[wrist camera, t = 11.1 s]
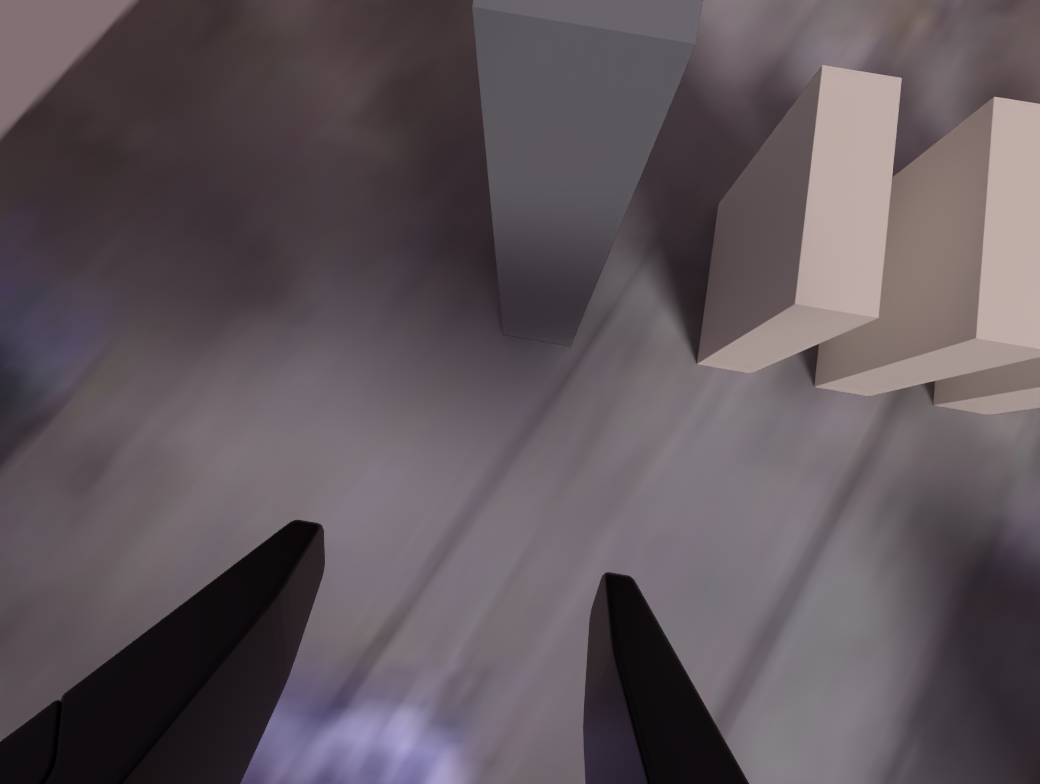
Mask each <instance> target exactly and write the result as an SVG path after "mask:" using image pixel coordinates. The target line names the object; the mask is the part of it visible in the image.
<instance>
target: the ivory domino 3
mask: <svg viewBox="0 0 1040 784" xmlns="http://www.w3.org/2000/svg"><path fill="white" fill-rule="evenodd" d="M933 405H935V406H941V407H947V408H953V409H959V410H964V411H970V412H976V413H982V414H996V413H1003V412H1011V411H1019V410H1026V409H1034V408H1040V357H1038V358H1034V359H1029V360H1025V361H1020V362H1016V363H1012V364H1007V365H1003V366H998V367H994V368H990V369H985V370H981V371H976V372H972V373H968V374H963V375H959V376H954V377H950V378H946V379H941V380H937V381H935V390H934V402H933Z"/></svg>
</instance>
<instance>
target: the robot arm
mask: <svg viewBox="0 0 1040 784" xmlns="http://www.w3.org/2000/svg"><path fill="white" fill-rule="evenodd" d="M324 566H325V551H324V530H323V527H322V525H321V524H319V523H314V522H308V521H302V520H294V521H292V522H290V523H288V524H287V525H286V526H284V527H283V528H282V529H281V530H279V531H278V532H277V533H275V534H274V535H273V536H271V537H270V538H269V539H267V540H266V541H265V542H263V543H262V544H261V545H259V546H258V547H257V548H256V549H254V550H253V551H252V552H250V553H249V554H248V555H246V556H245V557H244V558H242V559H241V560H240V561H238V562H237V563H236V564H234V565H233V566H232V567H231V568H229V569H228V570H227V571H225V572H224V573H223V574H221V575H220V576H219V577H217V578H216V579H215V580H213V581H212V582H211V583H210V584H208V585H207V586H206V587H204V588H203V589H202V590H200V591H199V592H198V593H196V594H195V595H194V596H192V597H191V598H190V599H188V600H187V601H186V602H185V603H183V604H182V605H181V606H179V607H178V608H177V609H175V610H174V611H173V612H171V613H170V614H169V615H167V616H166V617H165V618H164V619H162V620H161V621H160V622H158V623H157V624H156V625H154V626H153V627H152V628H150V629H149V630H148V631H146V632H145V633H144V634H142V635H141V636H140V637H139V638H137V639H136V640H135V641H133V642H132V643H131V644H129V645H128V646H127V647H125V648H124V649H123V650H121V651H120V652H119V653H118V654H116V655H115V656H114V657H112V658H111V659H110V660H108V661H107V662H106V663H104V664H103V665H102V666H100V667H99V668H98V669H96V670H95V671H94V672H93V673H91V674H90V675H89V676H87V677H86V678H85V679H83V680H82V681H81V682H79V683H78V684H77V685H75V686H74V687H73V688H72V689H70V690H69V691H68V692H66V693H65V694H64V695H63V696H62V698H61V701H59V700H56V701H54V702H53V703H51V704H50V705H49V706H47V707H46V708H45V709H44V710H42V711H41V712H40V713H38V714H37V715H36V716H34V717H33V718H32V719H30V720H29V721H28V722H26V723H25V724H24V725H22V726H21V727H20V728H18V729H17V730H16V731H14V732H13V733H11V734H10V735H9V736H7V737H6V738H5V739H3V740H2V741H1V742H0V784H240V783H241V781H242V778H243V776H244V774H245V772H246V770H247V768H248V765H249V763H250V761H251V759H252V757H253V755H254V752H255V750H256V748H257V746H258V744H259V742H260V739H261V737H262V735H263V733H264V731H265V729H266V726H267V724H268V722H269V720H270V718H271V716H272V713H273V711H274V709H275V707H276V705H277V703H278V700H279V698H280V696H281V694H282V691H283V689H284V687H285V684H286V682H287V680H288V677H289V675H290V672H291V669H292V666H293V663H294V660H295V657H296V655H297V652H298V649H299V646H300V643H301V640H302V637H303V634H304V631H305V628H306V625H307V622H308V619H309V616H310V613H311V610H312V607H313V604H314V601H315V598H316V595H317V592H318V589H319V586H320V583H321V580H322V576H323V572H324ZM583 736H584V761H585V781H586V784H749V783H748V781H747V779H746V777H745V776H744V774H743V772H742V770H741V768H740V767H739V765H738V763H737V761H736V760H735V758H734V756H733V754H732V753H731V751H730V749H729V747H728V745H727V744H726V742H725V740H724V738H723V737H722V735H721V733H720V731H719V729H718V728H717V726H716V724H715V722H714V721H713V719H712V717H711V715H710V714H709V712H708V710H707V708H706V706H705V705H704V703H703V701H702V699H701V698H700V696H699V694H698V692H697V690H696V689H695V687H694V685H693V683H692V682H691V680H690V678H689V676H688V674H687V673H686V671H685V669H684V667H683V666H682V664H681V662H680V660H679V659H678V657H677V655H676V653H675V651H674V650H673V648H672V646H671V644H670V643H669V641H668V639H667V637H666V635H665V634H664V632H663V630H662V628H661V627H660V625H659V623H658V621H657V619H656V618H655V616H654V614H653V612H652V611H651V609H650V607H649V605H648V604H647V602H646V600H645V598H644V596H643V595H642V593H641V591H640V589H639V588H638V586H637V584H636V582H635V581H634V579H633V578H632V577H630V576H627V575H622V574H616V573H610V572H607V573H605V574H604V575H603V576H602V578H601V581H600V584H599V587H598V590H597V593H596V596H595V599H594V603H593V606H592V609H591V615H590V622H589V637H588V653H587V669H586V684H585V700H584V722H583Z"/></svg>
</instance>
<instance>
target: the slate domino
mask: <svg viewBox="0 0 1040 784" xmlns="http://www.w3.org/2000/svg"><path fill="white" fill-rule="evenodd" d="M702 1H703V0H473V5H472V11H473V22H474V32H475V43H476V53H477V64H478V74H479V85H480V96H481V106H482V117H483V127H484V138H485V149H486V159H487V170H488V180H489V191H490V202H491V212H492V223H493V233H494V244H495V255H496V265H497V276H498V286H499V297H500V308H501V318H502V329H503V335H508V336H514V337H520V338H525V339H531V340H537V341H542V342H548V343H554V344H559V345H565V346H571V343H572V341H573V339H574V336H575V334H576V331H577V329H578V326H579V324H580V322H581V319H582V317H583V314H584V312H585V310H586V307H587V305H588V302H589V300H590V298H591V295H592V293H593V290H594V288H595V286H596V283H597V281H598V278H599V276H600V274H601V271H602V269H603V266H604V264H605V262H606V259H607V257H608V254H609V252H610V249H611V247H612V245H613V242H614V240H615V237H616V235H617V233H618V230H619V228H620V225H621V223H622V221H623V218H624V216H625V213H626V211H627V209H628V206H629V204H630V201H631V199H632V197H633V194H634V192H635V189H636V187H637V185H638V182H639V180H640V177H641V175H642V172H643V170H644V168H645V165H646V163H647V160H648V158H649V156H650V153H651V151H652V148H653V146H654V144H655V141H656V139H657V136H658V134H659V132H660V129H661V127H662V124H663V122H664V120H665V117H666V115H667V112H668V110H669V107H670V105H671V103H672V100H673V98H674V95H675V93H676V91H677V88H678V86H679V83H680V81H681V79H682V76H683V74H684V71H685V69H686V67H687V64H688V62H689V59H690V57H691V55H692V52H693V50H694V47H695V45H696V40H697V33H698V27H699V20H700V14H701V7H702Z"/></svg>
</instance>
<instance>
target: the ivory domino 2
mask: <svg viewBox="0 0 1040 784" xmlns="http://www.w3.org/2000/svg"><path fill="white" fill-rule="evenodd" d="M1038 357H1040V104H1037V103H1031V102H1025V101H1019V100H1012V99H1006V98H1000V97H993V98H992V99H990V100H989V101H988V102H987V103H985V104H984V105H983V106H982V107H980V108H979V109H978V110H977V111H975V112H974V113H973V114H972V115H970V116H969V117H968V118H967V119H965V120H964V121H963V122H961V123H960V124H959V125H958V126H956V127H955V128H954V129H953V130H951V131H950V132H949V133H948V134H946V135H945V136H944V137H943V138H941V139H940V140H939V141H938V142H936V143H935V144H934V145H932V146H931V147H930V148H929V149H927V150H926V151H925V152H924V153H922V154H921V155H920V156H919V157H917V158H916V159H915V160H914V161H912V162H911V163H910V164H909V165H907V166H906V167H905V168H904V169H902V170H901V171H900V172H898V173H897V174H896V175H895V176H893V177H892V184H891V194H890V205H889V215H888V225H887V235H886V246H885V256H884V266H883V277H882V287H881V297H880V308H879V318H877V319H875V320H873V321H870V322H868V323H866V324H863V325H861V326H859V327H856V328H854V329H852V330H850V331H847V332H845V333H843V334H840V335H838V336H836V337H833V338H831V339H829V340H826V341H824V342H822V343H819V348H818V357H817V366H816V375H815V385H814V387H818V388H824V389H830V390H836V391H842V392H848V393H854V394H860V395H866V396H871V395H875V394H880V393H884V392H888V391H893V390H897V389H902V388H906V387H910V386H915V385H919V384H924V383H928V382H932V381H937V380H941V379H946V378H950V377H954V376H959V375H963V374H968V373H972V372H976V371H981V370H985V369H990V368H994V367H998V366H1003V365H1007V364H1012V363H1016V362H1020V361H1025V360H1029V359H1034V358H1038Z"/></svg>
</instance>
